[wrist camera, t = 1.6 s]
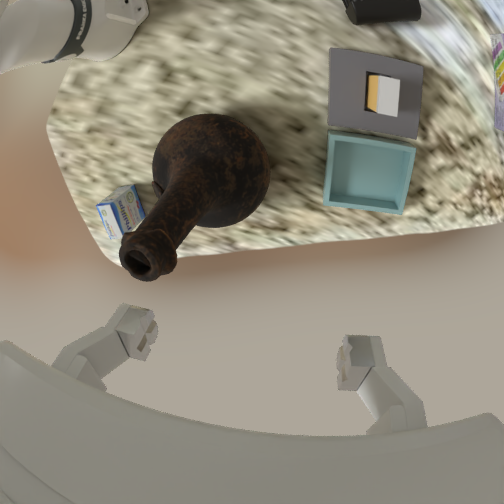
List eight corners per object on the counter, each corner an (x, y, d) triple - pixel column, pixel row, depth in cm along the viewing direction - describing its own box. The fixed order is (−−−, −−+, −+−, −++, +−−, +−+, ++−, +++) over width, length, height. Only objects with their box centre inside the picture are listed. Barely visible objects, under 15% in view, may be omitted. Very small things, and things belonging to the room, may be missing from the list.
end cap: (352, 29, 27) (359, 21, 21) (334, -9, 23) (338, -22, 18) (410, 24, 23) (426, 17, 18) (393, -14, 19) (406, -26, 14)
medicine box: (146, 216, 55) (125, 239, 48) (131, 218, 56) (109, 240, 49) (134, 183, 50) (110, 203, 43) (119, 186, 51) (94, 206, 45)
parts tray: (328, 129, 37) (329, 134, 35) (409, 142, 35) (416, 148, 32) (322, 195, 44) (323, 205, 42) (396, 205, 42) (401, 214, 39)
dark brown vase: (161, 126, 42) (38, 199, 20) (258, 95, 36) (177, 133, 15) (194, 211, 52) (118, 324, 30) (285, 195, 46) (255, 330, 24)
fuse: (367, 75, 30) (380, 75, 24) (383, 78, 30) (400, 80, 24) (365, 106, 33) (377, 113, 27) (381, 108, 33) (397, 117, 27)
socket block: (329, 49, 29) (330, 47, 28) (417, 66, 27) (423, 66, 25) (327, 122, 37) (328, 125, 35) (411, 136, 34) (416, 139, 32)
